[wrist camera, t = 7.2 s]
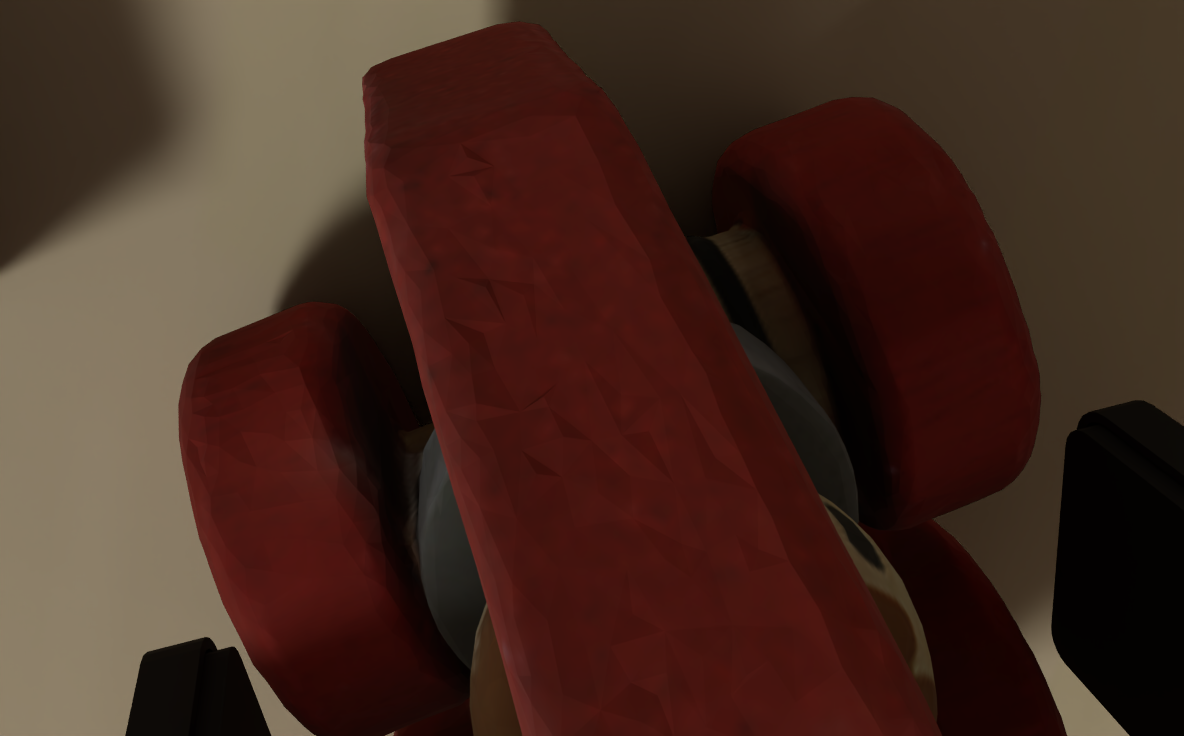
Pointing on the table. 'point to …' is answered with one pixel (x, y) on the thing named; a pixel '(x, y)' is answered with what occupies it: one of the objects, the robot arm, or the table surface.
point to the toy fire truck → (628, 433)
